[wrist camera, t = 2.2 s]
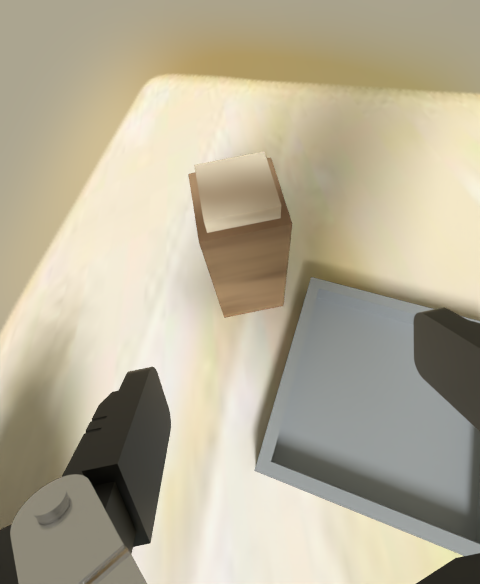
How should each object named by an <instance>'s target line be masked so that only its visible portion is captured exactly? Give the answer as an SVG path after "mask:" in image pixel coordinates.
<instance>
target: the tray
mask: <svg viewBox="0 0 480 584" xmlns="http://www.w3.org/2000/svg"><path fill="white" fill-rule="evenodd" d="M428 310H433V309H432V308H428V307H424V306H420V305H416V304H413V303H409V302H405V301H401V300H397V299H394V298H390V297H386V296H382V295H378V294H375V293H371V292H367V291H363V290H359V289H355V288H352V287H348V286H344V285H340V284H336V283H333V282H329V281H325V280H321V279H317V278H313V277H311V279H310V283H309V286H308V290H307V293H306V296H305V300H304V303H303V307H302V310H301V314H300V317H299V320H298V324H297V327H296V331H295V334H294V337H293V341H292V344H291V348H290V351H289V355H288V358H287V361H286V365H285V368H284V372H283V375H282V379H281V382H280V385H279V389H278V392H277V396H276V399H275V402H274V406H273V409H272V413H271V416H270V420H269V423H268V426H267V430H266V433H265V437H264V440H263V443H262V447H261V450H260V454H259V457H258V461H257V464H256V467H255V471H256V472H259V473H261V474H264V475H266V476H269V477H271V478H274V479H276V480H279V481H281V482H284V483H286V484H288V485H291V486H293V487H296V488H298V489H301V490H303V491H306V492H308V493H311V494H313V495H316V496H318V497H321V498H323V499H325V500H328V501H330V502H333V503H335V504H338V505H340V506H343V507H345V508H348V509H350V510H353V511H355V512H357V513H360V514H362V515H365V516H367V517H370V518H372V519H375V520H377V521H380V522H382V523H385V524H387V525H389V526H392V527H394V528H397V529H399V530H402V531H404V532H407V533H409V534H412V535H414V536H417V537H419V538H422V539H424V540H426V541H429V542H431V543H434V544H436V545H439V546H441V547H444V548H446V549H449V550H451V551H454V552H456V553H458V554H461V555H463V556H468V555H473V554H478V553H480V431H479V430H478V429H477V428H475V427H474V426H473V425H472V424H471V423H470V422H469V421H468V420H467V419H466V418H465V417H464V416H463V415H462V414H460V413H459V412H458V411H457V410H456V409H455V408H454V407H453V406H452V405H451V404H450V403H449V402H448V401H447V400H445V399H444V398H443V397H442V396H441V395H440V394H439V393H438V392H437V391H436V390H435V389H434V388H433V387H431V386H430V385H429V384H428V383H427V382H426V381H425V380H424V379H423V378H422V377H421V376H420V374H419V372H418V371H417V368H416V366H415V362H414V324H413V322H414V316H415V315H416V314H417V313H419V312H423V311H428ZM461 317H462V316H461ZM463 318H465V319H467V320H470V321H474V322H477V323H480V321H478V320H474V319H470V318H466V317H463Z"/></svg>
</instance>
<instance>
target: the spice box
mask: <svg viewBox="0 0 480 584" xmlns="http://www.w3.org/2000/svg"><path fill="white" fill-rule="evenodd" d="M194 166H195V172H196V173H191V174H189V181H190V187H191V193H192V200H193V206H194V213H195V219H196V226H197V232H198V238H199V243H200V246H201V249H202V252H203V255H204V258H205V261H206V264H207V267H208V270H209V273H210V276H211V279H212V282H213V285H214V288H215V291H216V294H217V297H218V300H219V303H220V306H221V309H222V312H223V315H224V318H225V317H230V316H235V315H240V314H245V313H250V312H255V311H259V310H264V309H269V308H274V307H279V306H283V303H284V293H285V284H286V275H287V266H288V257H289V248H290V239H291V230H292V222H291V218H290V215H289V212H288V209H287V206H286V203H285V200H284V197H283V194H282V191H281V187H280V184H279V181H278V178H277V175H276V172H275V169H274V166H273V163H272V160H271V158H266V155H265V152H264V151H263V152H258V153H253V154H248V155H243V156H238V157H232V158H227V159H222V160H217V161H212V162H207V163H202V164H197V165H194Z"/></svg>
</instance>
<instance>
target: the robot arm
mask: <svg viewBox="0 0 480 584" xmlns="http://www.w3.org/2000/svg"><path fill="white" fill-rule="evenodd" d="M413 324H414V362H415V366H416V368H417V371H418V372H419V374H420V376H421V377H422V378H423V379H424V380H425V381H426V382H427V383H428V384H429V385H430V386H431V387H433V388H434V389H435V390H436V391H437V392H438V393H439V394H440V395H441V396H442V397H443V398H444V399H445V400H447V401H448V402H449V403H450V404H451V405H452V406H453V407H454V408H455V409H456V410H457V411H458V412H459V413H460V414H462V415H463V416H464V417H465V418H466V419H467V420H468V421H469V422H470V423H471V424H472V425H473V426H474V427H475V428H477V429H478V430H479V431H480V323H477V322H474V321H470V320H467V319H465V318H463V317H461V316H460V315H458V314H456V313H454V312H452V311H450V310H448V309H446V308H438V309H433V310H428V311H423V312H419V313H417V314H416V315H415V316H414V322H413ZM170 430H171V419H170V412H169V408H168V405H167V402H166V398H165V395H164V392H163V389H162V386H161V383H160V380H159V376H158V373H157V371H156V369H155V368H154V367H149V368H144V369H139V370H135V371H130V372H128V373H127V374H126V376H125V378H124V380H123V383H122V385H121V387H120V389H119V391H115V392H112V393H111V394H110V395H109V396H108V397H107V398H106V399H105V400H104V401H103V402H102V403H101V404H100V405H99V406H98V408H97V410H96V412H95V414H94V416H93V418H92V422H90V423H89V425H88V427H87V429H86V434H84V435H83V437H82V439H81V441H80V443H79V445H78V447H77V448H76V450H75V452H74V454H73V456H72V458H71V460H70V462H69V464H68V466H67V468H66V470H65V471H64V473H63V475H62V477H61V478H58V479H56V480H54V481H52V482H50V483H48V484H47V485H45V486H44V487H42V488H41V489H39V490H38V491H37V492H36V493H35V494H33V495H32V496H31V497H30V498H29V499H28V500H27V501H26V502H25V503H24V505H23V506H22V507H21V508H20V510H19V511H18V513H17V514H16V516H15V518H14V520H13V523H12V525H10V526H8V527H5V528H3V529H1V530H0V584H147V583H146V581H145V579H144V577H143V575H142V574H141V572H140V570H139V568H138V566H137V564H136V563H135V561H134V559H133V557H132V555H131V553H132V549H133V547H135V546H139V545H144V544H149V543H150V542H151V537H152V531H153V526H154V520H155V514H156V509H157V503H158V497H159V492H160V486H161V481H162V475H163V469H164V464H165V458H166V453H167V447H168V441H169V436H170ZM416 584H480V553H478V554H473V555H468V556H464V557H459V558H455V559H454V560H452V561H451V562H449V563H447V564H446V565H444V566H443V567H441V568H440V569H438V570H437V571H435V572H433V573H432V574H430V575H429V576H427V577H426V578H424V579H423V580H421V581H420V582H418V583H416Z"/></svg>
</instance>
